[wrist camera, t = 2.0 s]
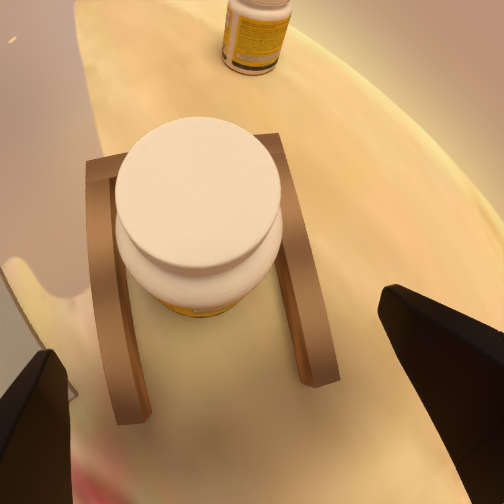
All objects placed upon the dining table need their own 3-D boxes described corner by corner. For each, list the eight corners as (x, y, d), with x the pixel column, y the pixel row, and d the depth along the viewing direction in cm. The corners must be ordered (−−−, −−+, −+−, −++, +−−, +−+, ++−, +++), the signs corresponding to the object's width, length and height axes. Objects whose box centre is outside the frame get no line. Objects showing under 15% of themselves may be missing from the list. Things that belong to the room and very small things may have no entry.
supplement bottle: (287, 65, 25) (313, -11, 16) (245, 83, 23) (263, -1, 15) (252, 37, 25) (268, -36, 17) (210, 53, 24) (217, -27, 16)
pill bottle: (135, 238, 19) (72, 134, 8) (228, 204, 20) (254, 79, 10) (170, 335, 18) (125, 333, 7) (268, 295, 19) (345, 243, 9)
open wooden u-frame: (324, 375, 18) (340, 380, 16) (127, 414, 16) (117, 425, 14) (270, 153, 22) (278, 133, 19) (96, 179, 19) (86, 161, 17)
